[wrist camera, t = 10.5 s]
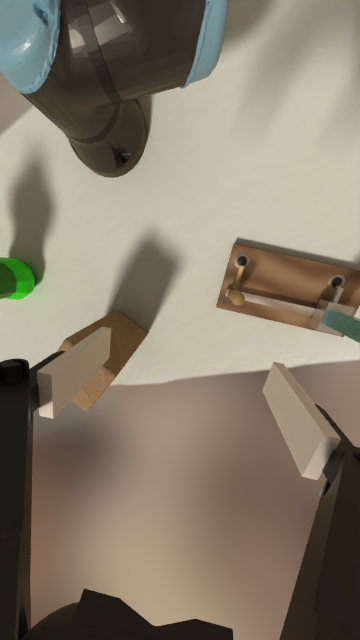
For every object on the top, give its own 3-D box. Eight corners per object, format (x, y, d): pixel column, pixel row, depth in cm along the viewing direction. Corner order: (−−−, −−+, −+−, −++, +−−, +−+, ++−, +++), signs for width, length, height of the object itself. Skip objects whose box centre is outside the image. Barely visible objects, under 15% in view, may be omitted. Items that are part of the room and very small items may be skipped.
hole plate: (233, 244, 42) (241, 240, 34) (369, 274, 41) (411, 277, 33) (216, 306, 46) (219, 315, 38) (338, 334, 45) (369, 350, 37)
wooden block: (117, 308, 49) (64, 338, 30) (149, 332, 50) (116, 376, 31) (97, 336, 52) (38, 379, 33) (128, 358, 53) (86, 413, 34)
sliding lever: (324, 282, 41) (398, 295, 25) (348, 287, 40) (437, 303, 25) (305, 324, 43) (362, 358, 28) (328, 329, 43) (397, 366, 28)
